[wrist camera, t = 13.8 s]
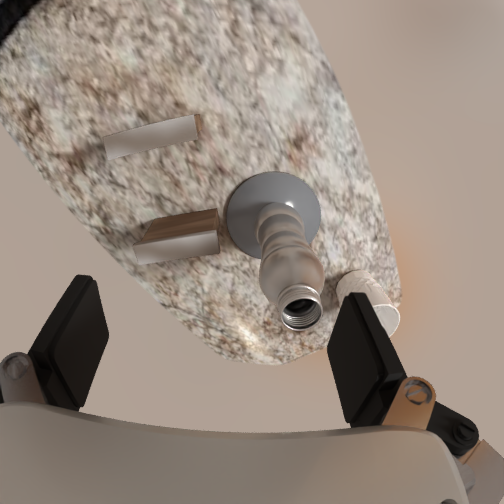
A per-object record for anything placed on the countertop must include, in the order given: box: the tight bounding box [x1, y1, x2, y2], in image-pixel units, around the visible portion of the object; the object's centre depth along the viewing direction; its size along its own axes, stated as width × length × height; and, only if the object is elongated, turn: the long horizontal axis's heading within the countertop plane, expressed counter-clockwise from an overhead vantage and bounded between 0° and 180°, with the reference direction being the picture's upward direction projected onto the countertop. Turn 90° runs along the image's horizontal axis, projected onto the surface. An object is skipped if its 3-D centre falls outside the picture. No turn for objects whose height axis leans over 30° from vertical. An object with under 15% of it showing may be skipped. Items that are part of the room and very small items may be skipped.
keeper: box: [103, 114, 220, 265], centre depth 36 cm, size 16×10×9 cm, turn 8°
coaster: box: [227, 172, 321, 259], centre depth 43 cm, size 13×13×1 cm
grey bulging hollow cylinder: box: [254, 202, 325, 331], centre depth 34 cm, size 6×7×20 cm
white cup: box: [336, 270, 400, 337], centre depth 45 cm, size 8×8×10 cm
